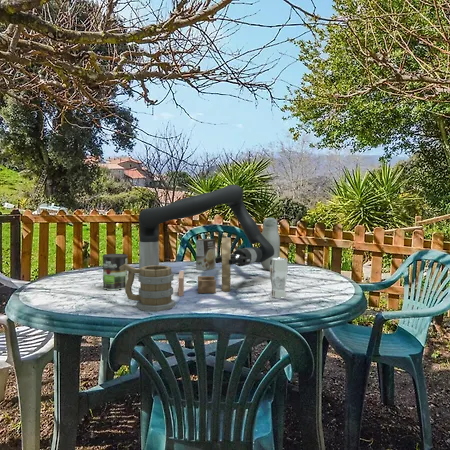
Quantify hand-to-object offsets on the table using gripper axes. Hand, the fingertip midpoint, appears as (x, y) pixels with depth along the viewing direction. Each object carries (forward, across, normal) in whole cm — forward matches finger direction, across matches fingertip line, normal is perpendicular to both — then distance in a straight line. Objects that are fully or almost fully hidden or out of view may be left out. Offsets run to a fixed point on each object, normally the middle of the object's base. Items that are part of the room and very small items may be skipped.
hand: (222, 261), depth 173 cm
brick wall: (+10, -14, +12) cm, 21 cm away
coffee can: (+21, -41, +13) cm, 48 cm away
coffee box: (-38, -38, +13) cm, 55 cm away
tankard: (+34, -9, +13) cm, 38 cm away
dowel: (-2, 0, +12) cm, 13 cm away
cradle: (+3, -6, +12) cm, 14 cm away
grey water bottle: (-56, -9, +13) cm, 58 cm away
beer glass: (-6, +23, +13) cm, 27 cm away
